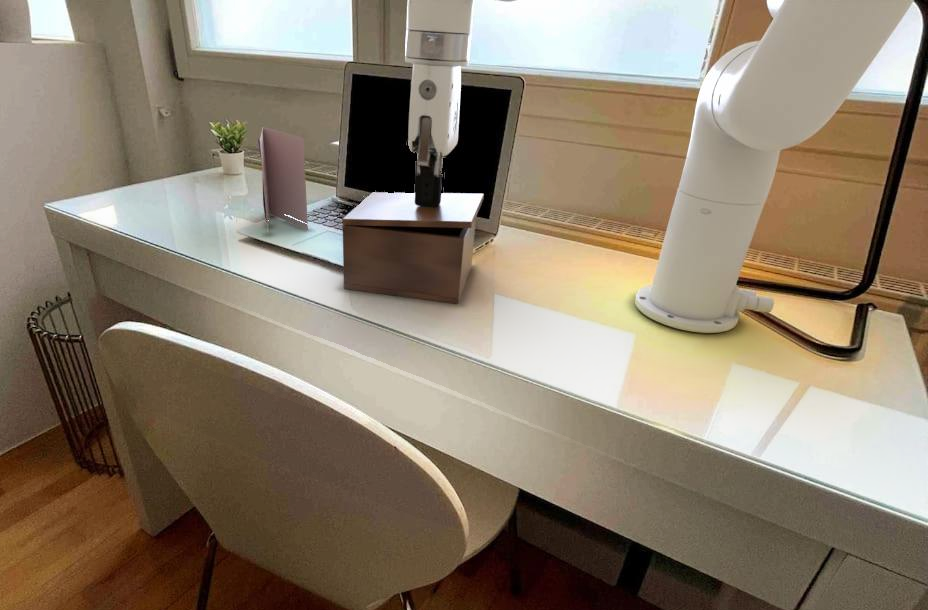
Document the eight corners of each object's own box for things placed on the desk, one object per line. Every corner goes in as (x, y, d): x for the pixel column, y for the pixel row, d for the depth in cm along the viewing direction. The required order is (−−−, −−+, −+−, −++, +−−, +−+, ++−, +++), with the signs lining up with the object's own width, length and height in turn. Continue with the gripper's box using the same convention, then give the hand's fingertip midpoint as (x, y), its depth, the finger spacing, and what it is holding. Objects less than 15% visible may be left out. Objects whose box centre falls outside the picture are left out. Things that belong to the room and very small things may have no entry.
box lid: (483, 199, 80) (483, 193, 80) (471, 228, 69) (471, 221, 68) (372, 197, 84) (371, 192, 83) (342, 225, 72) (342, 218, 72)
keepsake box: (471, 266, 85) (477, 209, 81) (458, 304, 74) (464, 239, 69) (371, 254, 88) (372, 197, 84) (343, 288, 76) (342, 225, 72)
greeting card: (265, 214, 103) (257, 127, 95) (306, 213, 104) (302, 127, 97) (262, 235, 93) (253, 140, 86) (308, 234, 95) (303, 140, 87)
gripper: (460, 54, 59) (446, 224, 68) (477, 50, 72) (463, 193, 81) (390, 50, 60) (385, 217, 70) (419, 46, 73) (412, 188, 82)
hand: (427, 204), depth 75 cm, fingers closed
